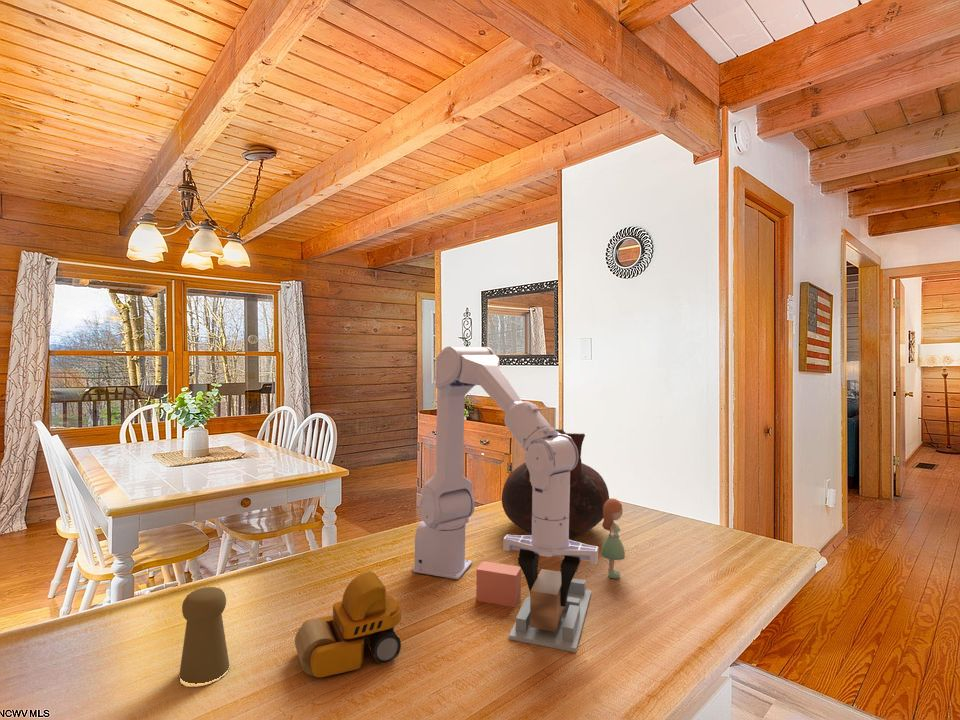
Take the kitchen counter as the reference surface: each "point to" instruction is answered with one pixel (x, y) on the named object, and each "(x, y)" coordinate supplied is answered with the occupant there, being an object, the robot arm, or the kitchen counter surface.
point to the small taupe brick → (546, 601)
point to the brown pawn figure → (204, 636)
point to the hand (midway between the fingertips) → (548, 600)
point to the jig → (567, 627)
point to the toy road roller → (351, 630)
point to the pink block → (498, 583)
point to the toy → (612, 535)
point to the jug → (584, 495)
